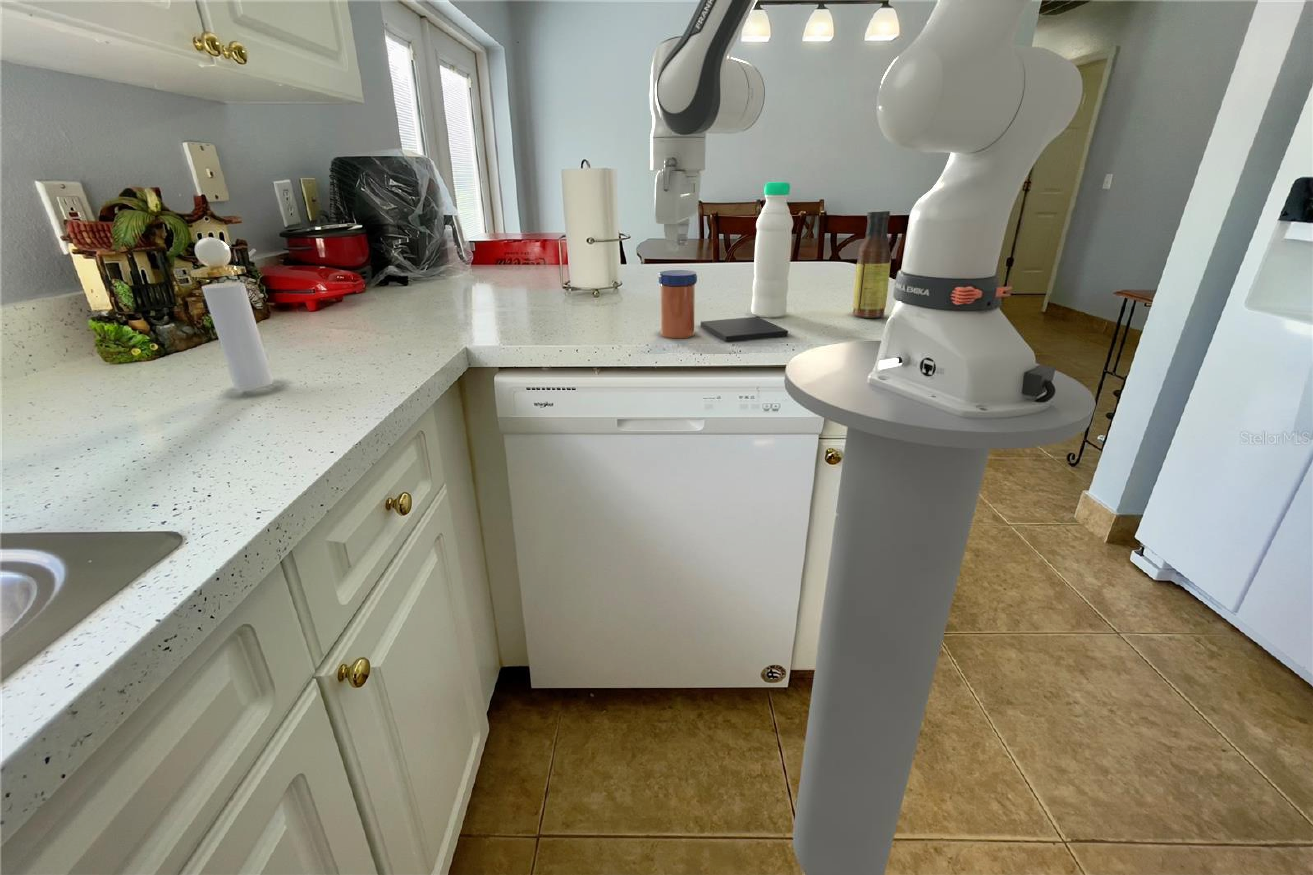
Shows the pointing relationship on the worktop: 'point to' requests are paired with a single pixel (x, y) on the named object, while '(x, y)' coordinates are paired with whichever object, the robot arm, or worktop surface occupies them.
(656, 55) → the robot arm
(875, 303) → the sauce bottle
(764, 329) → the coaster
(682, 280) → the lid
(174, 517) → the worktop surface
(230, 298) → the perfume bottle
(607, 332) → the worktop surface
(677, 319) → the jar
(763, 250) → the water bottle
